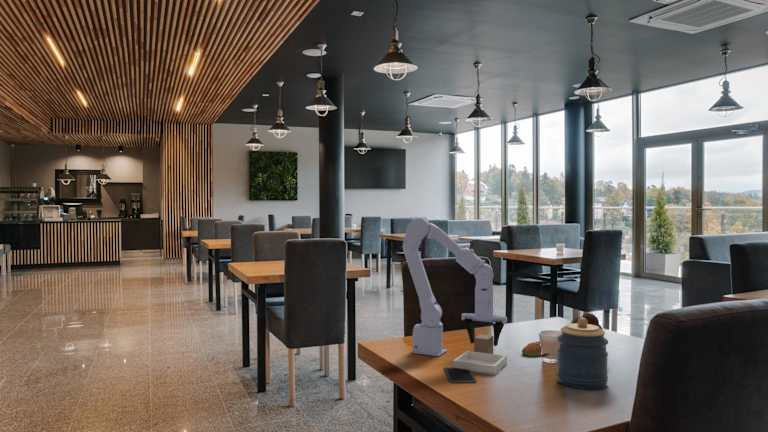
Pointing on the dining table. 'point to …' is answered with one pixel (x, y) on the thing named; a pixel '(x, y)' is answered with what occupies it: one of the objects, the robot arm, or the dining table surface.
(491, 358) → the bin
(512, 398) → the dining table surface
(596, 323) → the ice cream bowl
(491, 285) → the robot arm
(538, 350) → the pastry
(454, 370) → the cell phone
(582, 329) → the canister
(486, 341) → the beige block
